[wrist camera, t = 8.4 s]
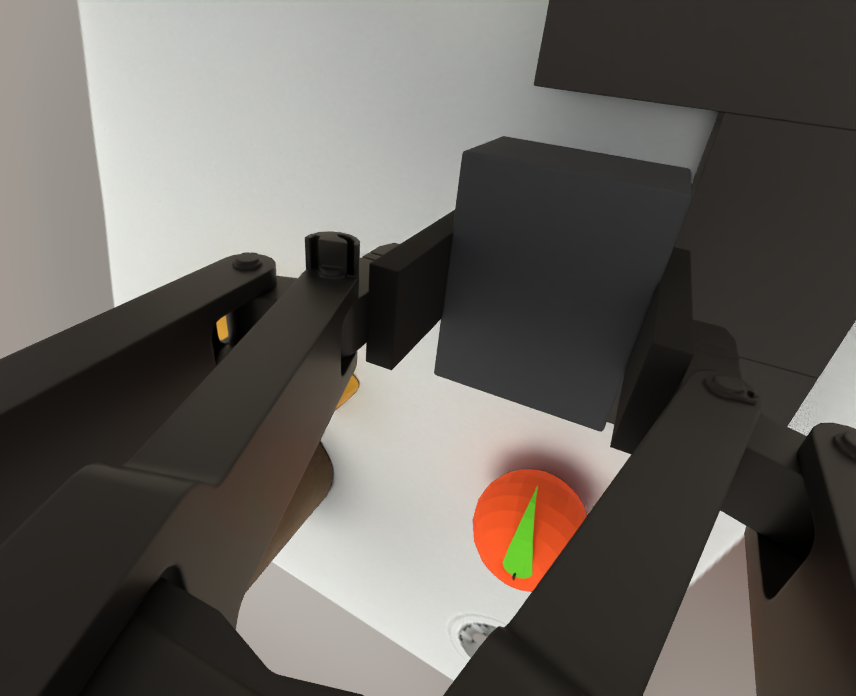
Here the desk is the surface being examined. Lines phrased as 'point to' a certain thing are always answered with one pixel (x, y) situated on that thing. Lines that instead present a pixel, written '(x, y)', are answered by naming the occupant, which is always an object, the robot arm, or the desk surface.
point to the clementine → (525, 525)
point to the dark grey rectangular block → (555, 272)
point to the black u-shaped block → (744, 160)
